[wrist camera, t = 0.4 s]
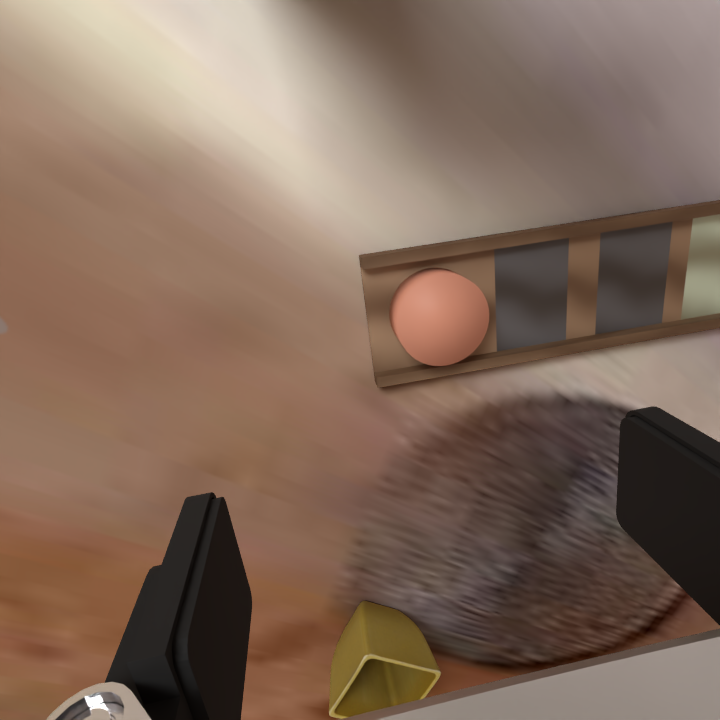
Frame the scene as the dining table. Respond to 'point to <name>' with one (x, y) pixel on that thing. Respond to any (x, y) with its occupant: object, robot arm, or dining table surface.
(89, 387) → the dining table surface
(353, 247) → the dining table surface
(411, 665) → the flower pot
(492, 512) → the dining table surface
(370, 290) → the trap lane
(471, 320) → the salmon rounded disc
